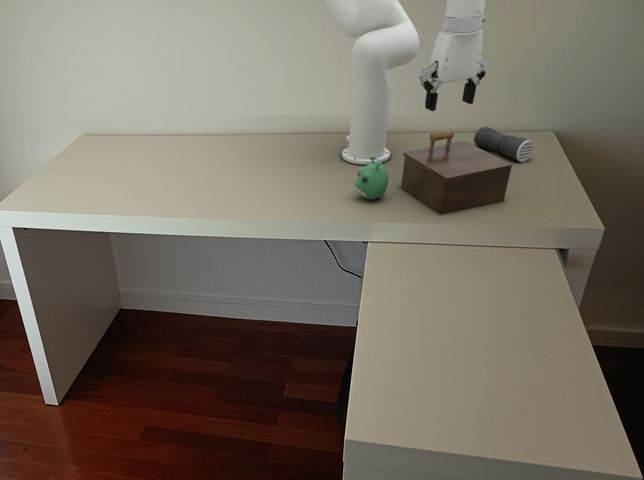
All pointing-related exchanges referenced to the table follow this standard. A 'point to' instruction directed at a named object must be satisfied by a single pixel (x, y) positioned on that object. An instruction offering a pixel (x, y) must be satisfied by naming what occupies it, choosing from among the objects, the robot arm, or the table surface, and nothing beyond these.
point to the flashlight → (504, 143)
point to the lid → (455, 158)
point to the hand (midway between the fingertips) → (448, 106)
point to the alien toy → (372, 180)
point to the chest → (453, 188)
